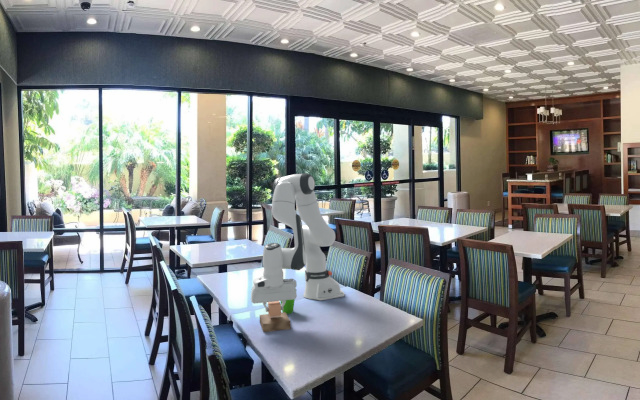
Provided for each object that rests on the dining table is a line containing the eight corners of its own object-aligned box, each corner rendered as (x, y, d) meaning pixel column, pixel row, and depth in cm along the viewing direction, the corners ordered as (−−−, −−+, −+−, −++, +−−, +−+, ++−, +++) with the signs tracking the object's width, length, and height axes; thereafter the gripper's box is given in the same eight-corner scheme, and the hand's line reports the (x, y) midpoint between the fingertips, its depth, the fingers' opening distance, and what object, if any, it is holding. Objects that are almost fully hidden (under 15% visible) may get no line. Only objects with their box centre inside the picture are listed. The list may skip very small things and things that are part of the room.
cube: (279, 311, 194) (278, 301, 194) (281, 315, 190) (280, 304, 189) (268, 312, 193) (267, 302, 193) (269, 316, 188) (269, 305, 188)
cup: (276, 310, 212) (275, 288, 211) (294, 307, 215) (293, 286, 214) (281, 316, 204) (280, 293, 203) (299, 313, 207) (298, 291, 206)
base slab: (285, 320, 199) (285, 312, 199) (290, 329, 187) (290, 321, 187) (259, 323, 196) (259, 314, 196) (263, 333, 184) (263, 324, 184)
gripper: (294, 276, 196) (295, 305, 197) (249, 280, 191) (251, 310, 192) (297, 279, 190) (298, 310, 191) (251, 284, 184) (252, 315, 186)
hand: (274, 310), depth 191 cm, fingers closed on cube, 5 cm apart
